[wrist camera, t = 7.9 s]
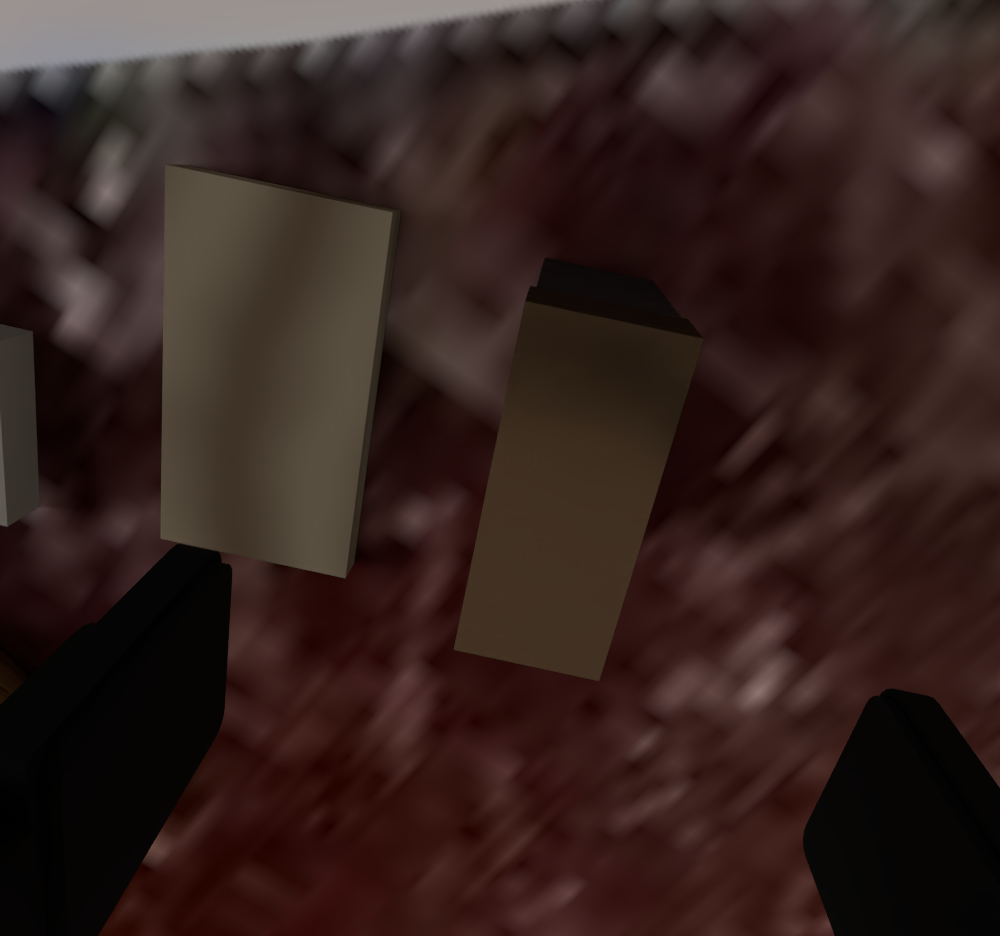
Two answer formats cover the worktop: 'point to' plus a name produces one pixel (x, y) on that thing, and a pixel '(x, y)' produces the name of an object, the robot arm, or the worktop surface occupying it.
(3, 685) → the pastry
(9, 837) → the robot arm
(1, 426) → the tile
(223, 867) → the worktop surface
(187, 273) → the board
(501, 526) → the brown rectangular block
